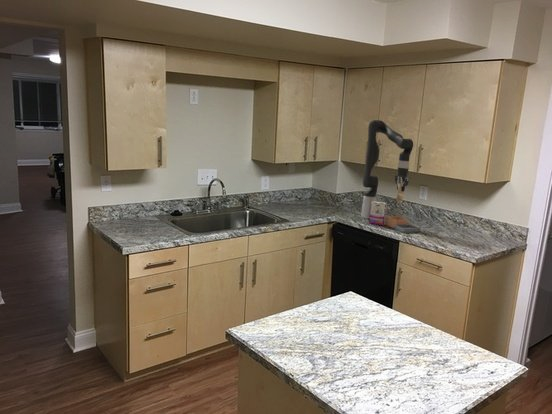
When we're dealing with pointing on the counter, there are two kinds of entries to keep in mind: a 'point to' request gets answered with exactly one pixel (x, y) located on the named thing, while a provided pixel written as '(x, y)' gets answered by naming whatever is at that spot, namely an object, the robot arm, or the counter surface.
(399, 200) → the wooden dowel
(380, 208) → the candy bar box
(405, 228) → the slate tray
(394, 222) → the terracotta square open box
